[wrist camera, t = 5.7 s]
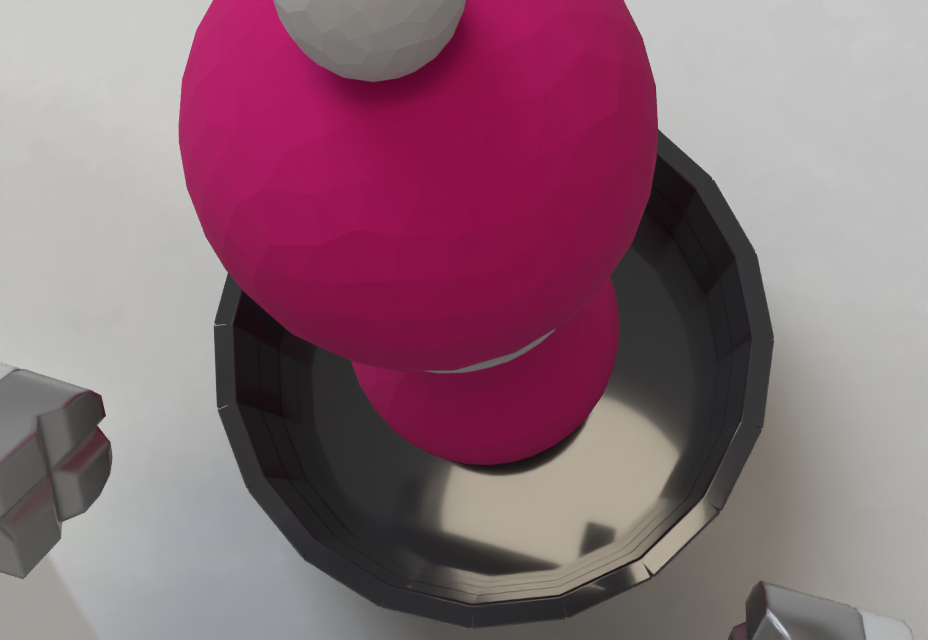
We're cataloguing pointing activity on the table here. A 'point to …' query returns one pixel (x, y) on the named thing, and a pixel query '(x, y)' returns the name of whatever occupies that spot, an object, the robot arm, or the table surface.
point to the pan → (534, 478)
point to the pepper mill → (431, 197)
